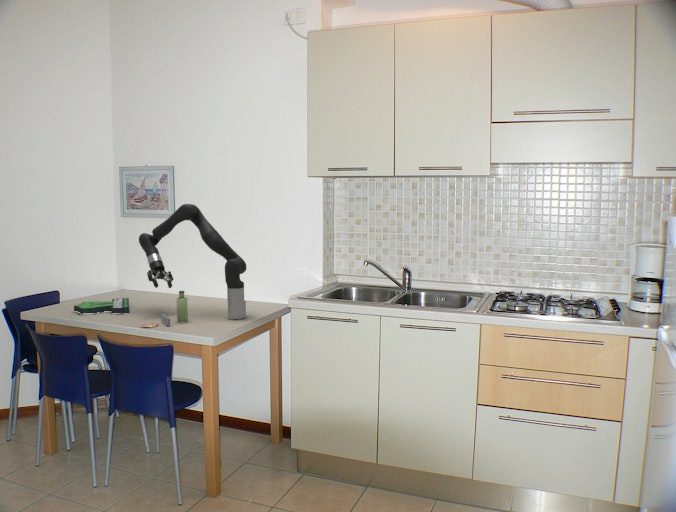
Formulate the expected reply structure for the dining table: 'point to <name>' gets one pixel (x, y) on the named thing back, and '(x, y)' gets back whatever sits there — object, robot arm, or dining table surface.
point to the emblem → (104, 306)
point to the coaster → (149, 325)
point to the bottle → (182, 308)
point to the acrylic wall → (165, 319)
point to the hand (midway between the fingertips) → (163, 287)
